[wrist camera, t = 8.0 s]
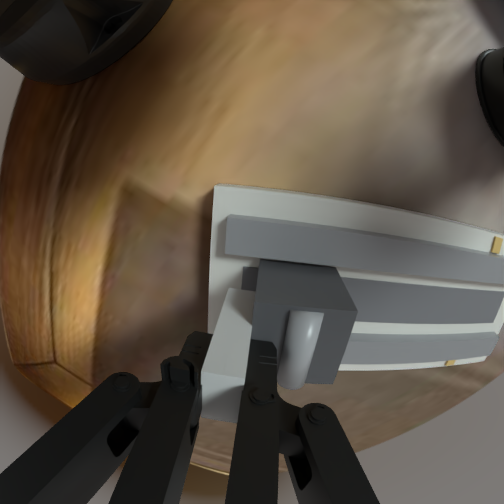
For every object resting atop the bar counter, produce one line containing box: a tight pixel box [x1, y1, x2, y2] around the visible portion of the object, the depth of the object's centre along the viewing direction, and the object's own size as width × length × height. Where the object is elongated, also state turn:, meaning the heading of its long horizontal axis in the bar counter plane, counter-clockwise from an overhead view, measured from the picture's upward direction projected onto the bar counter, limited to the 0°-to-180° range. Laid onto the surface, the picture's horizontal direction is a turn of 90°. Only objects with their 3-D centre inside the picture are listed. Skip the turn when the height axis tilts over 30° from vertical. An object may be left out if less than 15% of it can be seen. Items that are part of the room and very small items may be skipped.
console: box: [208, 183, 504, 370], centre depth 17 cm, size 26×12×2 cm, turn 84°
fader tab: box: [251, 259, 358, 390], centre depth 14 cm, size 4×4×6 cm
